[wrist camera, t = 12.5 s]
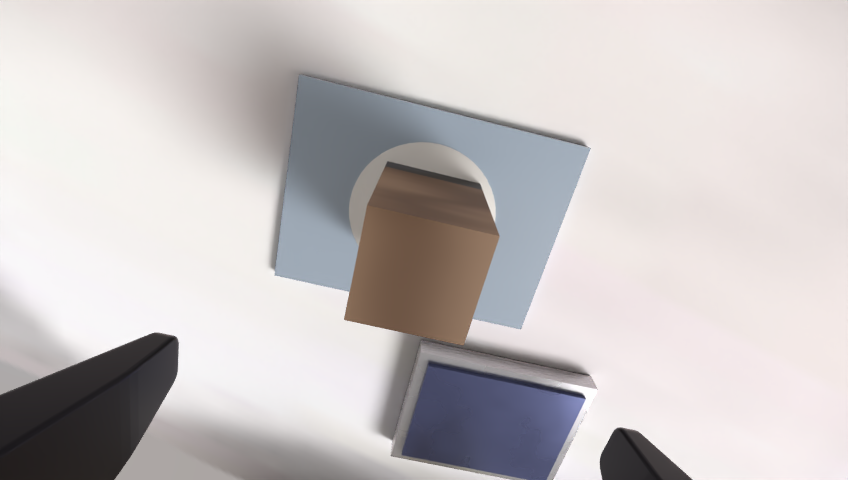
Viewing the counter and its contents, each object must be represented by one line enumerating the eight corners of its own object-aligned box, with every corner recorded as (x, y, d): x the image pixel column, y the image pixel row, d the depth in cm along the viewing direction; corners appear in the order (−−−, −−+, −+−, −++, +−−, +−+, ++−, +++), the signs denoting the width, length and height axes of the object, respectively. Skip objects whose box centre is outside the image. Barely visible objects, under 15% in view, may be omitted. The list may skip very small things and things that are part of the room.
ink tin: (590, 376, 23) (599, 393, 21) (545, 471, 25) (550, 491, 24) (421, 339, 22) (420, 355, 21) (392, 441, 25) (390, 460, 23)
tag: (587, 147, 18) (590, 148, 18) (519, 325, 22) (520, 330, 21) (301, 74, 17) (298, 74, 17) (276, 272, 21) (274, 275, 20)
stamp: (480, 183, 18) (499, 236, 13) (455, 266, 20) (463, 345, 14) (387, 160, 18) (366, 205, 13) (369, 246, 20) (344, 319, 14)
